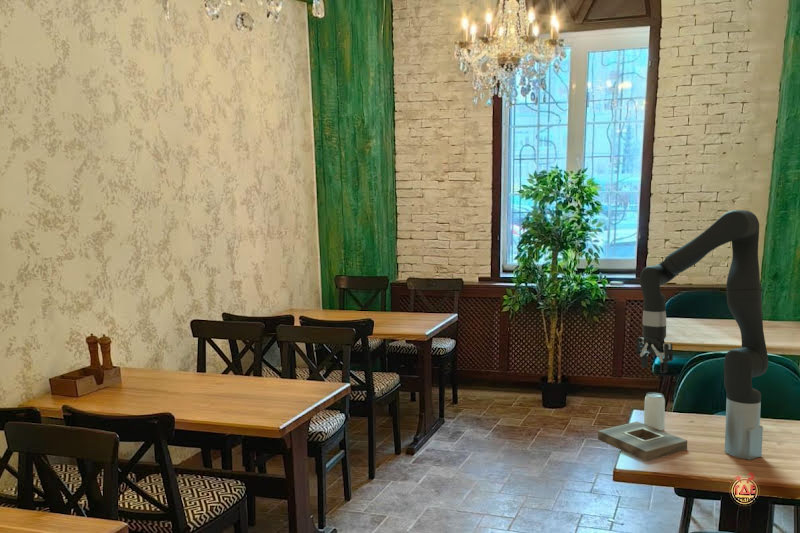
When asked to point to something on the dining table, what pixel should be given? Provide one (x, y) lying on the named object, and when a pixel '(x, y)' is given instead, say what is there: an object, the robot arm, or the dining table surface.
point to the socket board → (632, 443)
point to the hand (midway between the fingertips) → (653, 370)
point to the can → (654, 410)
